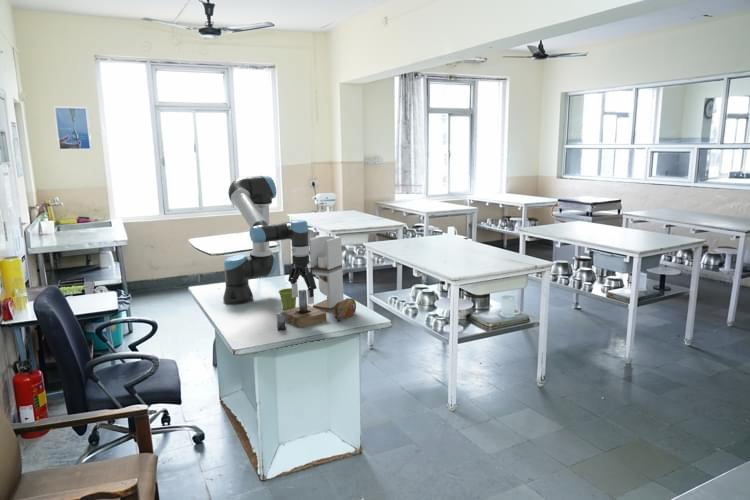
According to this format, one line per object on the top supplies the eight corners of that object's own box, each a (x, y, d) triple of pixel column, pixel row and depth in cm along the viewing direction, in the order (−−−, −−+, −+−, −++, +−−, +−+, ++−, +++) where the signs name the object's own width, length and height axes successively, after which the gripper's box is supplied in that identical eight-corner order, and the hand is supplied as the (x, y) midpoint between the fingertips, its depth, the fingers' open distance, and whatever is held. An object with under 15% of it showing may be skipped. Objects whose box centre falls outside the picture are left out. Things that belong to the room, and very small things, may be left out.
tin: (338, 323, 238) (337, 305, 236) (332, 321, 240) (331, 304, 238) (356, 313, 250) (356, 296, 249) (351, 312, 252) (350, 295, 250)
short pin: (275, 329, 231) (274, 314, 230) (283, 327, 233) (282, 312, 232) (280, 331, 228) (279, 316, 227) (287, 329, 231) (286, 314, 229)
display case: (326, 303, 268) (323, 235, 261) (343, 306, 263) (341, 236, 256) (312, 309, 258) (309, 239, 252) (330, 312, 253) (327, 240, 246)
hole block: (282, 319, 244) (281, 311, 244) (307, 312, 253) (307, 304, 252) (300, 328, 232) (299, 319, 231) (326, 320, 241) (326, 312, 240)
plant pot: (294, 310, 257) (293, 293, 255) (276, 310, 259) (275, 293, 257) (301, 305, 266) (300, 288, 264) (283, 304, 268) (282, 288, 266)
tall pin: (298, 320, 243) (296, 290, 240) (305, 318, 245) (303, 289, 242) (302, 321, 240) (301, 292, 238) (309, 320, 242) (307, 290, 240)
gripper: (279, 252, 244) (281, 296, 248) (308, 260, 225) (310, 308, 229) (293, 249, 249) (295, 293, 253) (323, 257, 230) (325, 304, 234)
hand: (302, 300), depth 241 cm, fingers open, 13 cm apart
